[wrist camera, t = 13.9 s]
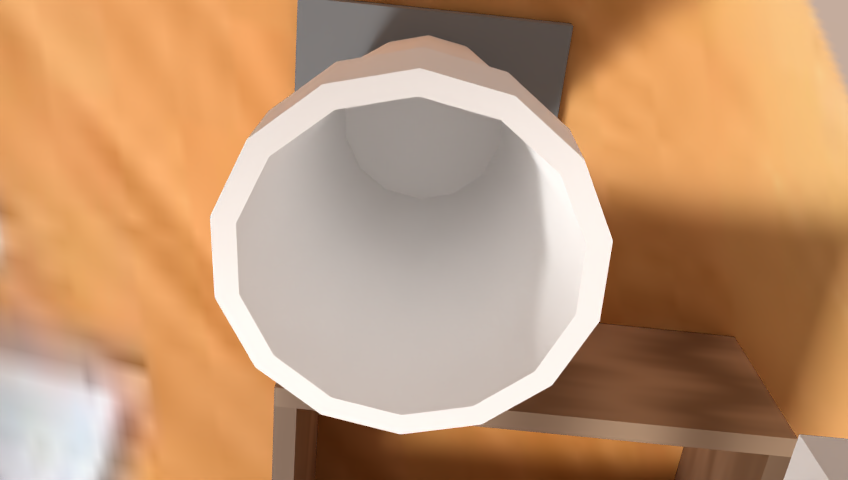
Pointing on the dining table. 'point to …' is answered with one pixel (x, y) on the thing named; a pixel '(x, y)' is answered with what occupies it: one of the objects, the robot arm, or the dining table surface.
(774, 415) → the crate
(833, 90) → the dining table surface
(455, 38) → the mat
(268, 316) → the foam cup
